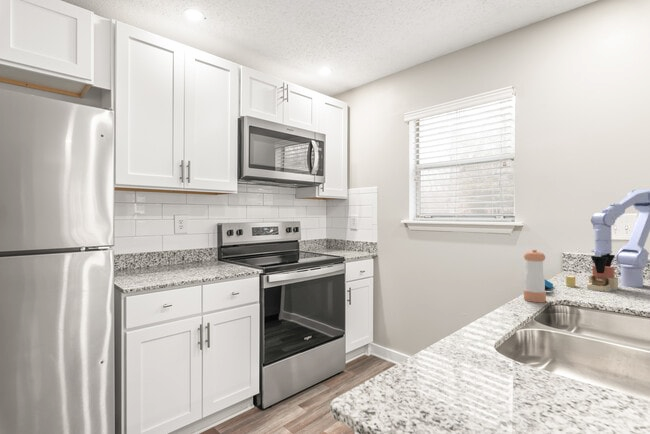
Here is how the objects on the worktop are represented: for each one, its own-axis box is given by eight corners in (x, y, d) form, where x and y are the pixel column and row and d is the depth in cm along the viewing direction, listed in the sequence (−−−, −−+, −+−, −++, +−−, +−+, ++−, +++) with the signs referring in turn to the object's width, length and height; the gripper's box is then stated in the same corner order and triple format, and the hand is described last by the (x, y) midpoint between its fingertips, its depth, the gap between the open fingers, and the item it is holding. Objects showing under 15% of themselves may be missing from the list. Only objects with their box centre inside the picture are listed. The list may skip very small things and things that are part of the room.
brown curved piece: (600, 285, 157) (600, 272, 157) (612, 287, 154) (612, 274, 154) (591, 289, 150) (591, 276, 150) (603, 290, 146) (603, 277, 146)
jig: (594, 286, 160) (594, 274, 159) (619, 289, 152) (619, 276, 152) (583, 290, 151) (583, 277, 151) (610, 294, 144) (609, 280, 144)
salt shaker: (540, 298, 139) (539, 248, 139) (550, 302, 131) (549, 250, 131) (520, 297, 139) (520, 248, 139) (529, 302, 132) (528, 250, 132)
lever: (534, 297, 160) (522, 292, 147) (535, 282, 161) (523, 276, 149) (552, 300, 155) (541, 295, 142) (553, 283, 156) (542, 277, 144)
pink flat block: (594, 276, 156) (594, 265, 156) (614, 279, 151) (614, 267, 151) (592, 277, 155) (592, 266, 155) (612, 279, 149) (612, 267, 149)
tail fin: (569, 287, 159) (569, 275, 159) (575, 287, 157) (575, 276, 157) (566, 288, 157) (566, 276, 157) (572, 288, 155) (572, 277, 155)
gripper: (597, 239, 160) (597, 269, 160) (586, 240, 152) (586, 272, 152) (616, 240, 155) (617, 271, 155) (606, 241, 146) (606, 274, 146)
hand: (603, 272), depth 153 cm, fingers open, 7 cm apart
